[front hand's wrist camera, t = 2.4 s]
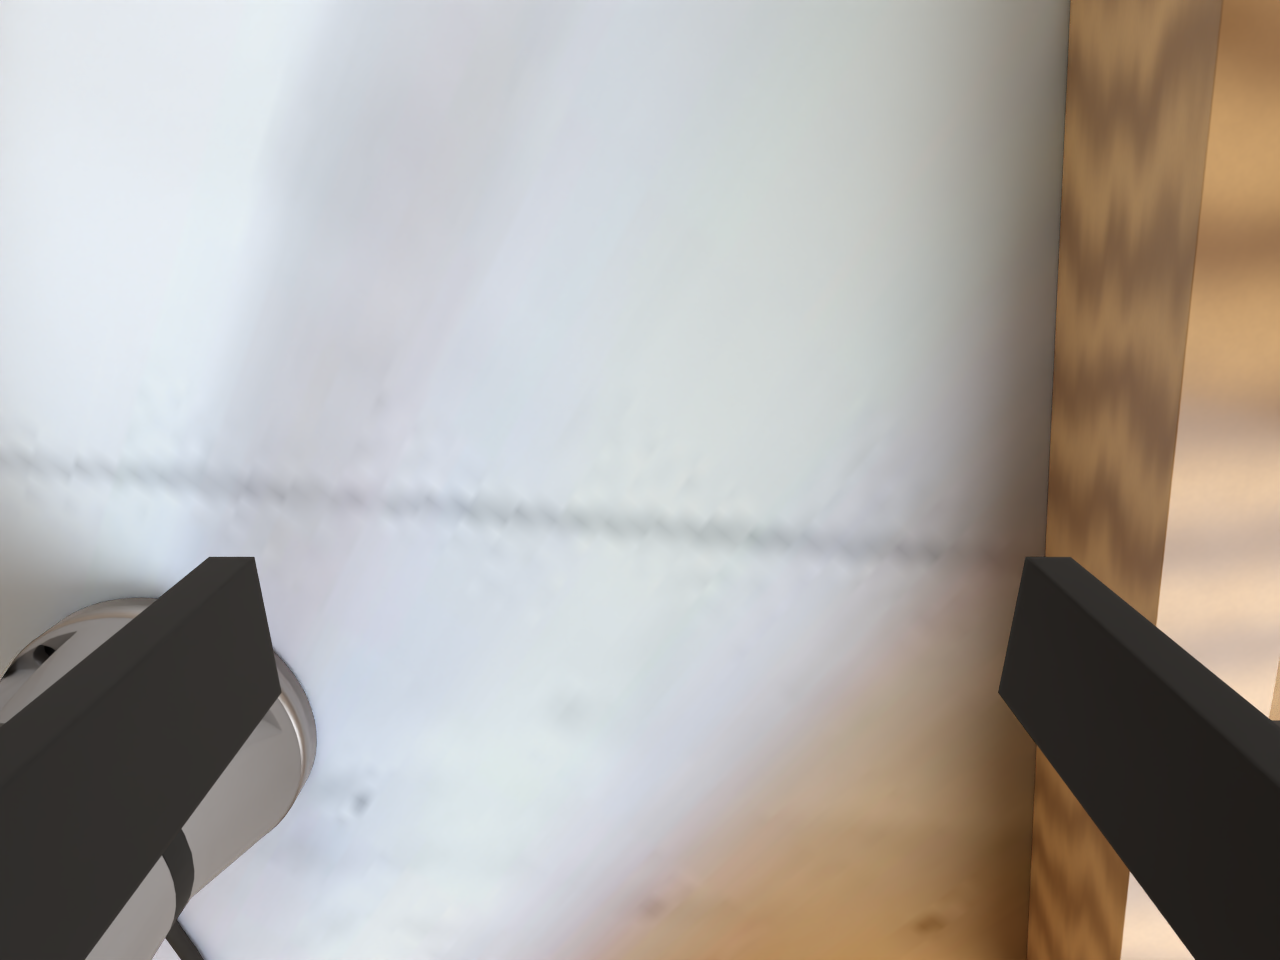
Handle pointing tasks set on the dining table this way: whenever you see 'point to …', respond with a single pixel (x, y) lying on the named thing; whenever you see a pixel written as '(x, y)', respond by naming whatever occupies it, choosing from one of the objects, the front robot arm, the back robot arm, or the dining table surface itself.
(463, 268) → the dining table surface
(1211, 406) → the beam
